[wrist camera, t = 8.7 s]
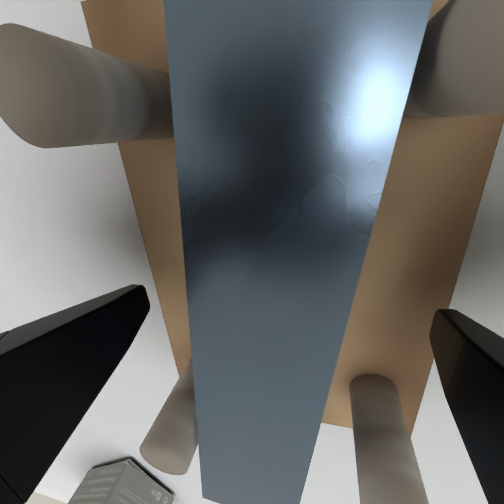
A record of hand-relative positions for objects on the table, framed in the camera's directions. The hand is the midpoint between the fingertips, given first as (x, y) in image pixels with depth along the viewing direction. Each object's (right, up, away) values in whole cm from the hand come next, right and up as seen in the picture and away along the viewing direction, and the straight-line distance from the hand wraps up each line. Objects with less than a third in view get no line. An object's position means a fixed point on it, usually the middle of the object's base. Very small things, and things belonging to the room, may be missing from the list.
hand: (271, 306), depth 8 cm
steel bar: (+1, +1, +2) cm, 3 cm away
